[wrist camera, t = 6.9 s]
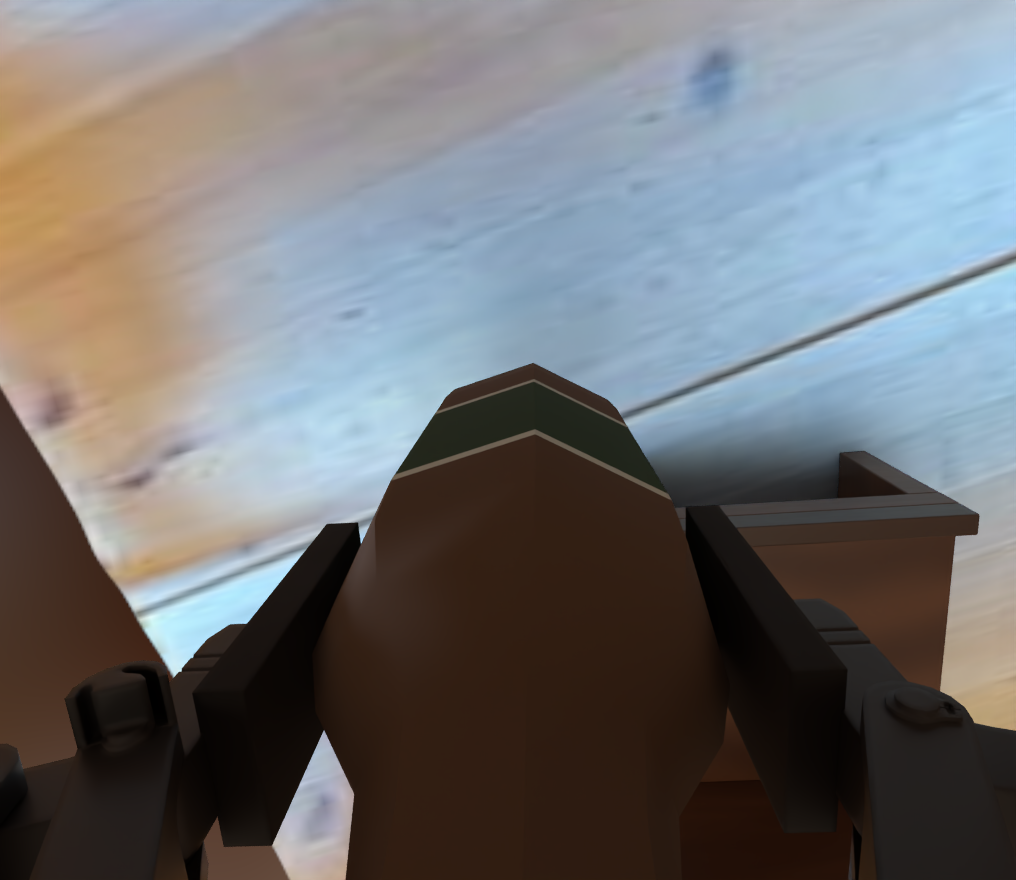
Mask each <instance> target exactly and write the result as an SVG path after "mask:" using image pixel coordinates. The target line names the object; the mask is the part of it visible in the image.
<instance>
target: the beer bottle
mask: <svg viewBox="0 0 1016 880" xmlns="http://www.w3.org/2000/svg"><path fill="white" fill-rule="evenodd" d="M312 659H313V678H314V696H315V712H316V714H317V716H318V718H319V720H320V722H321V724H322V726H323V729H324V731H325V733H326V735H327V737H328V739H329V741H330V743H331V746H332V748H333V750H334V752H335V754H336V756H337V758H338V760H339V763H340V765H341V767H342V769H343V771H344V773H345V775H346V777H347V780H348V782H349V784H350V786H351V788H352V790H353V792H354V803H353V812H352V822H351V832H350V842H349V851H348V861H347V871H346V880H682V871H681V850H680V828H679V817H680V815H681V813H682V811H683V810H684V808H685V806H686V805H687V803H688V801H689V800H690V798H691V796H692V795H693V793H694V791H695V790H696V788H697V786H698V785H699V783H700V781H701V779H702V778H703V776H704V774H705V773H706V771H707V769H708V768H709V766H710V764H711V763H712V761H713V759H714V758H715V756H716V754H717V753H718V751H719V749H720V748H721V746H722V744H723V742H724V733H725V724H726V715H727V707H728V698H729V689H730V683H729V680H728V676H727V673H726V670H725V666H724V663H723V660H722V656H721V653H720V649H719V646H718V643H717V639H716V636H715V633H714V629H713V626H712V623H711V619H710V616H709V612H708V609H707V606H706V602H705V599H704V596H703V592H702V589H701V585H700V582H699V579H698V575H697V572H696V569H695V565H694V562H693V559H692V555H691V552H690V548H689V545H688V542H687V539H686V536H685V534H684V531H683V528H682V526H681V523H680V520H679V518H678V515H677V512H676V510H675V507H674V504H673V502H672V500H671V498H670V496H669V495H668V493H667V491H666V490H665V488H664V486H663V485H662V483H661V481H660V480H659V478H658V476H657V475H656V473H655V472H654V470H653V468H652V467H651V465H650V463H649V462H648V460H647V458H646V457H645V455H644V453H643V452H642V450H641V448H640V447H639V445H638V443H637V442H636V440H635V439H634V437H633V435H632V434H631V432H630V430H629V429H628V427H627V425H626V424H625V422H624V420H623V419H622V417H621V415H620V414H619V412H618V410H617V409H616V408H615V407H614V406H613V405H612V404H611V403H610V402H609V401H608V400H607V399H605V398H603V397H601V396H599V395H597V394H595V393H593V392H591V391H589V390H587V389H585V388H583V387H581V386H579V385H577V384H575V383H573V382H571V381H569V380H567V379H564V378H562V377H560V376H558V375H556V374H554V373H552V372H550V371H548V370H546V369H544V368H542V367H540V366H538V365H536V364H534V363H532V364H529V365H526V366H523V367H520V368H517V369H514V370H511V371H508V372H505V373H502V374H499V375H496V376H493V377H490V378H487V379H484V380H481V381H478V382H475V383H472V384H469V385H466V386H463V387H460V388H457V389H455V390H453V391H452V392H451V393H450V394H449V395H448V396H447V397H446V398H445V399H444V401H443V403H442V404H441V406H440V407H439V409H438V410H437V412H436V413H435V415H434V416H433V418H432V419H431V421H430V422H429V424H428V425H427V427H426V428H425V430H424V431H423V433H422V434H421V436H420V437H419V439H418V440H417V442H416V443H415V445H414V446H413V448H412V449H411V451H410V452H409V454H408V455H407V457H406V459H405V460H404V462H403V463H402V465H401V466H400V468H399V469H398V471H397V472H396V474H395V475H394V477H393V478H392V480H391V481H390V484H389V486H388V488H387V490H386V492H385V494H384V496H383V498H382V501H381V503H380V505H379V507H378V509H377V511H376V513H375V516H374V518H373V520H372V522H371V524H370V526H369V528H368V531H367V533H366V535H365V537H364V539H363V541H362V543H361V546H360V548H359V550H358V552H357V554H356V556H355V558H354V561H353V563H352V565H351V567H350V569H349V571H348V573H347V576H346V578H345V580H344V582H343V584H342V586H341V588H340V591H339V593H338V595H337V597H336V599H335V601H334V604H333V606H332V608H331V610H330V613H329V615H328V617H327V620H326V622H325V624H324V627H323V629H322V631H321V634H320V636H319V638H318V641H317V643H316V645H315V648H314V650H313V652H312Z"/></svg>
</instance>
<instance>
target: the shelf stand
mask: <svg viewBox="0 0 1016 880" xmlns="http://www.w3.org/2000/svg"><path fill="white" fill-rule="evenodd" d="M719 507H720V508H721V509H722V510H723V512H724V513H725V514H726V515H727V517H728V518H729V519H730V521H731V522H732V523H733V524H734V526H735V527H736V528H737V529H738V531H739V532H740V533H741V535H742V536H743V537H744V538H745V540H746V541H747V542H748V543H749V545H750V546H751V547H752V548H753V550H754V551H755V552H756V554H757V555H758V556H759V557H760V559H761V560H762V561H763V562H764V564H765V565H766V566H767V568H768V569H769V570H770V571H771V573H772V574H773V575H774V576H775V578H776V579H777V580H778V581H779V583H780V584H781V585H782V587H783V588H784V589H785V590H786V592H787V593H788V594H789V595H790V597H791V598H792V599H817V598H821V599H823V600H824V601H826V602H828V603H830V604H832V605H833V606H835V607H837V608H839V609H841V610H842V611H844V612H845V613H846V614H847V615H848V616H849V617H850V618H851V620H852V621H853V622H854V623H855V624H856V625H857V626H858V627H859V631H860V630H861V631H862V632H863V633H864V634H865V635H866V636H867V637H868V638H869V639H870V642H871V644H874V645H875V646H876V647H877V648H878V649H879V650H880V651H881V653H882V654H883V655H884V656H885V657H886V658H887V659H888V660H889V661H890V662H891V664H892V665H893V666H894V667H895V668H896V669H897V670H898V671H899V672H900V673H901V674H902V676H903V677H904V678H905V679H906V680H907V681H908V682H913V683H917V684H920V685H924V686H928V687H931V688H934V689H936V690H938V691H940V684H941V675H942V665H943V655H944V645H945V635H946V625H947V615H948V605H949V595H950V585H951V575H952V565H953V555H954V545H955V536H962V535H977V534H978V525H979V514H978V513H976V512H974V511H972V510H970V509H969V508H967V507H965V506H963V505H961V504H959V503H958V502H956V501H954V500H953V499H951V498H949V497H947V496H945V495H944V494H942V493H939V492H938V491H936V490H934V489H932V488H930V487H929V486H927V485H925V484H923V483H921V482H919V481H918V480H916V479H914V478H912V477H910V476H909V475H907V474H905V473H903V472H901V471H900V470H898V469H896V468H894V467H892V466H891V465H889V464H887V463H885V462H883V461H882V460H880V459H878V458H876V457H874V456H872V455H871V454H869V453H867V452H865V451H860V452H844V453H840V465H839V484H838V498H836V499H819V500H801V501H784V502H767V503H749V504H732V505H719ZM675 510H676V512H677V515H678V518H679V520H680V523H681V526H682V528H683V531H684V534H685V536H686V507H680V508H675ZM852 826H853V822H852V821H851V819H850V817H849V816H848V814H847V812H846V810H845V809H844V807H843V805H842V803H841V802H840V800H838V814H837V828H836V832H812V833H784V832H783V830H782V827H781V825H780V823H779V821H778V818H777V816H776V814H775V812H774V809H773V807H772V805H771V803H770V800H769V798H768V796H767V794H766V792H765V789H764V787H763V785H762V783H761V780H760V778H759V776H758V774H757V771H756V769H755V767H754V765H753V762H752V760H751V758H750V756H749V753H748V751H747V749H746V747H745V745H744V742H743V740H742V738H741V736H740V733H739V731H738V729H737V727H736V724H735V722H734V720H733V718H732V715H731V713H730V711H729V709H728V707H727V715H726V724H725V733H724V742H723V744H722V746H721V748H720V749H719V751H718V753H717V754H716V756H715V758H714V759H713V761H712V763H711V764H710V766H709V768H708V769H707V771H706V773H705V774H704V776H703V778H702V779H701V781H700V783H699V785H698V786H697V788H696V790H695V791H694V793H693V795H692V796H691V798H690V800H689V801H688V803H687V805H686V806H685V808H684V810H683V811H682V813H681V815H680V817H679V828H680V850H681V871H682V880H848V877H849V865H850V852H851V839H852Z"/></svg>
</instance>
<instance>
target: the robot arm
mask: <svg viewBox="0 0 1016 880" xmlns="http://www.w3.org/2000/svg"><path fill="white" fill-rule="evenodd" d="M686 539H687V542H688V545H689V548H690V552H691V555H692V559H693V562H694V565H695V569H696V572H697V575H698V579H699V582H700V585H701V589H702V592H703V596H704V599H705V602H706V606H707V609H708V612H709V616H710V619H711V623H712V626H713V629H714V633H715V636H716V639H717V643H718V646H719V649H720V653H721V656H722V660H723V663H724V666H725V670H726V673H727V676H728V680H729V683H730V689H729V698H728V709H729V711H730V713H731V715H732V718H733V720H734V722H735V724H736V727H737V729H738V731H739V733H740V736H741V738H742V740H743V742H744V745H745V747H746V749H747V751H748V753H749V756H750V758H751V760H752V762H753V765H754V767H755V769H756V771H757V774H758V776H759V778H760V780H761V783H762V785H763V787H764V789H765V792H766V794H767V796H768V798H769V800H770V803H771V805H772V807H773V809H774V812H775V814H776V816H777V818H778V821H779V823H780V825H781V827H782V830H783V832H784V833H812V832H836V828H837V814H838V800H840V802H841V803H842V805H843V807H844V809H845V810H846V812H847V814H848V816H849V817H850V819H851V821H852V822H853V826H852V839H851V852H850V865H849V877H848V880H1016V731H1013V730H1007V729H1001V728H995V727H990V726H985V725H981V724H977V723H974V722H973V719H972V718H971V716H970V715H969V713H968V711H967V710H966V708H965V707H964V706H962V705H961V704H960V703H958V702H957V701H956V700H954V699H953V698H952V697H951V696H949V695H947V694H944V693H942V692H940V691H938V690H936V689H934V688H931V687H928V686H924V685H920V684H917V683H913V682H908V681H907V680H906V679H905V678H904V677H903V676H902V674H901V673H900V672H899V671H898V670H897V669H896V668H895V667H894V666H893V665H892V664H891V662H890V661H889V660H888V659H887V658H886V657H885V656H884V655H883V654H882V653H881V651H880V650H879V649H878V648H877V647H876V646H875V645H874V644H871V642H870V639H869V638H868V637H867V636H866V635H865V634H864V633H863V632H862V631H861V630H860V631H859V627H858V626H857V625H856V624H855V623H854V622H853V621H852V620H851V618H850V617H849V616H848V615H847V614H846V613H845V612H844V611H842V610H841V609H839V608H837V607H835V606H833V605H832V604H830V603H828V602H826V601H824V600H823V599H821V598H817V599H792V598H791V597H790V595H789V594H788V593H787V592H786V590H785V589H784V588H783V587H782V585H781V584H780V583H779V581H778V580H777V579H776V578H775V576H774V575H773V574H772V573H771V571H770V570H769V569H768V568H767V566H766V565H765V564H764V562H763V561H762V560H761V559H760V557H759V556H758V555H757V554H756V552H755V551H754V550H753V548H752V547H751V546H750V545H749V543H748V542H747V541H746V540H745V538H744V537H743V536H742V535H741V533H740V532H739V531H738V529H737V528H736V527H735V526H734V524H733V523H732V522H731V521H730V519H729V518H728V517H727V515H726V514H725V513H724V512H723V510H722V509H721V508H720V507H719V505H712V506H691V507H686ZM360 546H361V542H360V534H359V526H358V523H338V524H326V526H325V527H324V528H323V529H322V531H321V532H320V533H319V534H318V536H317V537H316V538H315V540H314V541H313V542H312V543H311V545H310V546H309V547H308V548H307V550H306V551H305V552H304V553H303V555H302V556H301V557H300V558H299V560H298V561H297V562H296V563H295V565H294V566H293V567H292V568H291V570H290V571H289V572H288V573H287V575H286V576H285V577H284V578H283V580H282V581H281V582H280V583H279V585H278V586H277V587H276V588H275V590H274V591H273V592H272V593H271V595H270V596H269V597H268V598H267V600H266V601H265V602H264V603H263V605H262V606H261V607H260V608H259V610H258V611H257V612H256V613H255V615H254V616H253V617H252V618H251V620H250V621H249V622H248V623H247V624H230V625H228V626H227V627H225V628H224V629H222V630H221V631H219V632H218V633H216V634H215V635H213V636H211V637H210V638H208V639H207V640H206V641H205V643H204V644H203V645H202V646H201V647H200V648H199V649H198V651H197V652H196V653H195V654H194V657H193V658H191V659H190V660H189V661H188V662H187V663H186V664H185V665H184V667H183V668H182V672H178V673H177V675H176V676H175V677H174V678H173V679H172V680H171V682H170V683H169V679H168V675H167V670H166V666H164V665H162V664H160V663H158V662H154V661H136V662H129V663H123V664H120V665H117V666H114V667H111V668H107V669H105V670H103V671H100V672H98V673H96V674H94V675H92V676H90V677H88V678H86V679H85V680H84V681H82V682H81V683H80V684H78V685H77V686H76V687H74V688H73V689H72V690H71V691H70V693H69V694H68V696H67V697H66V698H65V702H66V706H67V710H68V714H69V718H70V721H71V725H72V729H73V733H74V737H75V740H76V744H77V748H78V749H77V752H76V755H75V756H74V757H71V758H68V759H63V760H59V761H55V762H51V763H47V764H43V765H38V766H34V767H30V768H26V769H23V768H22V764H21V761H20V757H19V754H18V750H17V748H15V747H13V746H11V745H9V744H0V880H207V878H208V860H207V856H206V851H205V846H204V839H205V837H206V836H207V834H208V832H209V830H210V828H211V827H212V825H213V823H214V822H215V820H216V818H217V816H218V821H219V825H220V830H221V835H222V840H223V845H224V847H233V846H234V847H235V846H272V844H273V842H274V840H275V838H276V835H277V833H278V831H279V829H280V827H281V824H282V822H283V820H284V818H285V815H286V813H287V811H288V809H289V807H290V804H291V802H292V800H293V798H294V795H295V793H296V791H297V789H298V786H299V784H300V782H301V780H302V778H303V775H304V773H305V771H306V769H307V766H308V764H309V762H310V760H311V757H312V755H313V753H314V751H315V749H316V746H317V744H318V742H319V740H320V737H321V735H322V733H323V731H324V729H323V726H322V724H321V722H320V720H319V718H318V716H317V714H316V712H315V696H314V678H313V659H312V652H313V650H314V648H315V645H316V643H317V641H318V638H319V636H320V634H321V631H322V629H323V627H324V624H325V622H326V620H327V617H328V615H329V613H330V610H331V608H332V606H333V604H334V601H335V599H336V597H337V595H338V593H339V591H340V588H341V586H342V584H343V582H344V580H345V578H346V576H347V573H348V571H349V569H350V567H351V565H352V563H353V561H354V558H355V556H356V554H357V552H358V550H359V548H360Z"/></svg>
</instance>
